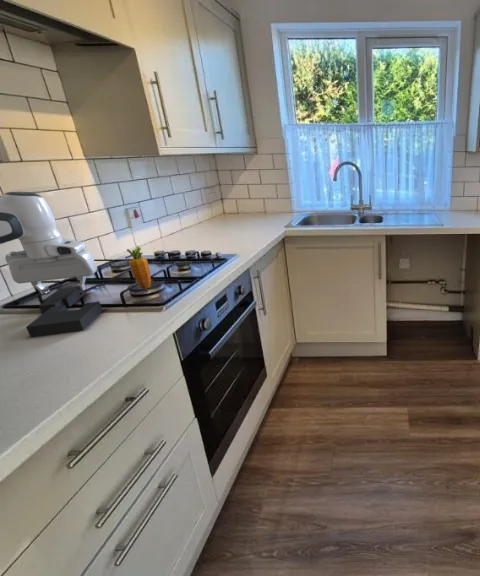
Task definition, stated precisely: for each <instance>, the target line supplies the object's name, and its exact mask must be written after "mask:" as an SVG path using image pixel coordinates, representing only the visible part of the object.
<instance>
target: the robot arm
mask: <svg viewBox="0 0 480 576" xmlns="http://www.w3.org/2000/svg"><path fill="white" fill-rule="evenodd" d="M14 240H19V241H20V243H21V246H22V247H23V250H19V251H18V250H17V251H9V252H8V253H7V254H6V255H5V256H4V259H5V261H6V263H7V265H8V268H9V272H10V276H11V278H12V280H13V282H15V283H16V284H19V285H20V284H26V283H27V284H28V283H30V284H31V286H32V287H34V288H35V289H36V290H38V291H39V293H40V295H41V296H45V295H46V296H47V295H49V294H51V291H50V288H49V287H46V286H45V285H43V284H41V283H42V282H45V281H53V280H63V279H64V280H65V279H71V278H76V279H77V280H78V281H79V283H78V284H76V285H75V287H77V288H78V289H77V290H78V291H80V290H84V291H85V290H86V288H87V287H86V284H85V283H86V279H87V277H89V276H93V275H94V274H96V273H97V271H98V266H97V263H96V261H95V259H94V257H93V255H92V253H91V252H90V251H88V250H87V249H86V247H87V246H86V243H85V242H84V241H80V240H73V239H68V238H63V236H62V233H60V231H59V229H58V228H57V224H56V218H55V216H54V214H53V212H52V210H51V208H50V206H49V203H48V202H47V201H46V199H45V198H44V197H43V196H41V195H40V194H38V193H35V192H30V191H7V192H4V193H3V194H2V196H0V245H3V244H5V243H8V242H11V241H14Z"/></svg>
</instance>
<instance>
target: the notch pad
mask: <svg viewBox="0 0 480 576" xmlns="http://www.w3.org/2000/svg"><path fill="white" fill-rule="evenodd" d="M103 311H104V310H103V308H102V305H101V302H100V301H92V302H86V303H84V305H82V306H81V307H80V308H79V309H74V310H73V309H72V310H68V309H67V308H66V306H57V307H51V308H50V309H49V310H47V311H46V312H45V313H43V314H42V313H41V315H39V316H38V317H37V318H36V319H34V320H33V321H32V322H31V323H29V324H28V325H26V327H25V329H26V330H27V332H28V334H29V336H30V338H34V337H42V336H48V335H57V334H65V333H72V332H80V331H85V329H86V328H87V327H88V326H90V324H92V322H93V321H94V320H95V319H96V318H97V317H98V316H99V315H100V314H101V313H102V312H103Z"/></svg>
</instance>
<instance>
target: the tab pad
mask: <svg viewBox="0 0 480 576" xmlns="http://www.w3.org/2000/svg"><path fill="white" fill-rule="evenodd" d="M77 289H78V288H77V287H76V286H69V287H60V288H58V289H57V290H55V291H54V292H53V293H52V294H51V293H50V295H49V296H47V297H46V298H44V299H42V303H41V304H39V305H38V309H39V310H40V313H41V315H42V314H43V313H45V312H46V311H47V310H49V309H50V308H51V307H57V306H66V309H67V308H71V307H72V306H73V305H74V304H76V303H77V302H79V300H81V298H83V297H84V296H85V295H86V293H85V290H80V291H78V290H77ZM80 293H82V294H81V295H80Z"/></svg>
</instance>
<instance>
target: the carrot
mask: <svg viewBox="0 0 480 576" xmlns="http://www.w3.org/2000/svg"><path fill="white" fill-rule="evenodd" d="M141 249H142V247H140V246H137V247H136V248H135V249H132V251H131V250H130V249H129V248H127V249H126V251H127V252H128V254H130V256H131V257H133V258H132V259H130V260H129V261H128V265H129V268H130V271H131V273H132V275H133V277H134V279H135V281H136V282H137V284H138V285H139V286H140V288H141V289H143V288H149V287H150V288H151V283H152V277H151V269H150V265H149V262H148V260H147V258H145V257H143V256H142V255H143V252H141ZM150 288H149V289H146V290H144V291H145V292H149V291H150Z"/></svg>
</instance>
